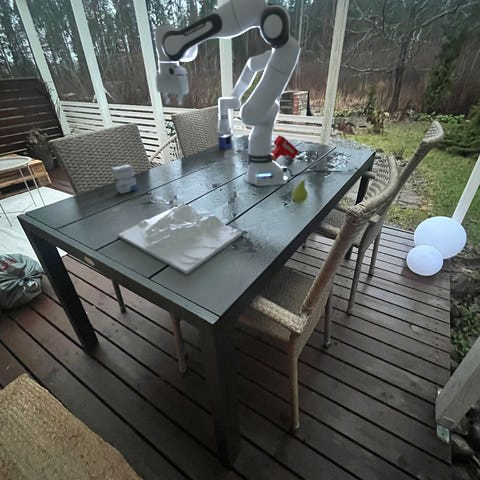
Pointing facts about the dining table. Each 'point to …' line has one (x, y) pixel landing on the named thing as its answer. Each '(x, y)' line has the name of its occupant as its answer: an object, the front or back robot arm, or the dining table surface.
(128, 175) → the ink box
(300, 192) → the fruit
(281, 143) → the red power drill
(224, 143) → the block
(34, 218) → the dining table surface
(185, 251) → the relief map
